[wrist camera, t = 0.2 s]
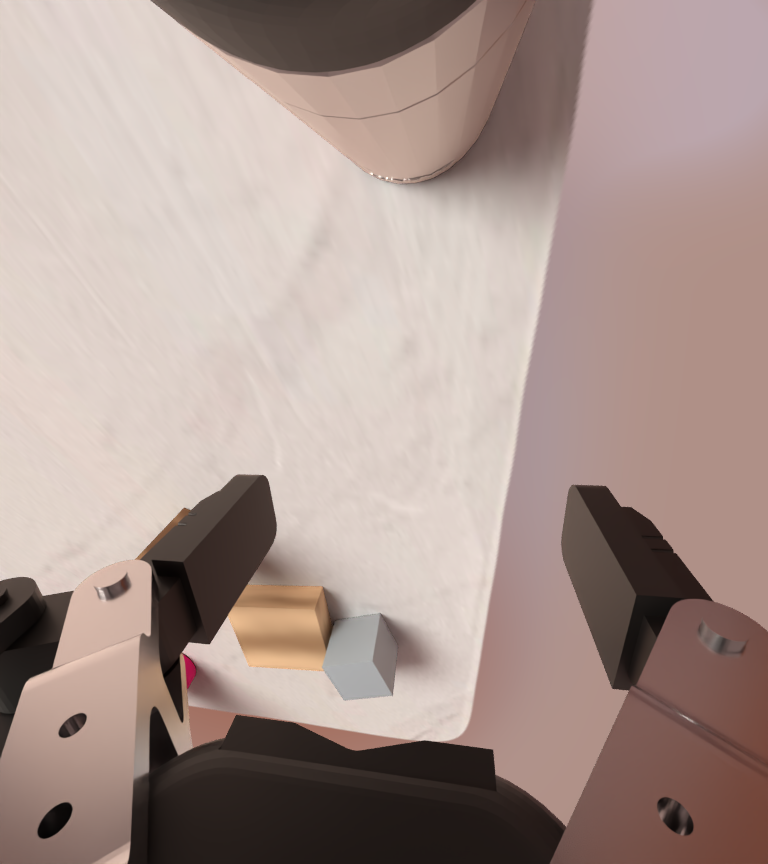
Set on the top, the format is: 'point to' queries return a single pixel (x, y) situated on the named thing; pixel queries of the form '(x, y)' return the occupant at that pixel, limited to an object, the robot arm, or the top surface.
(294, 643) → the oak base
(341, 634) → the slate block
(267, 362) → the top surface
